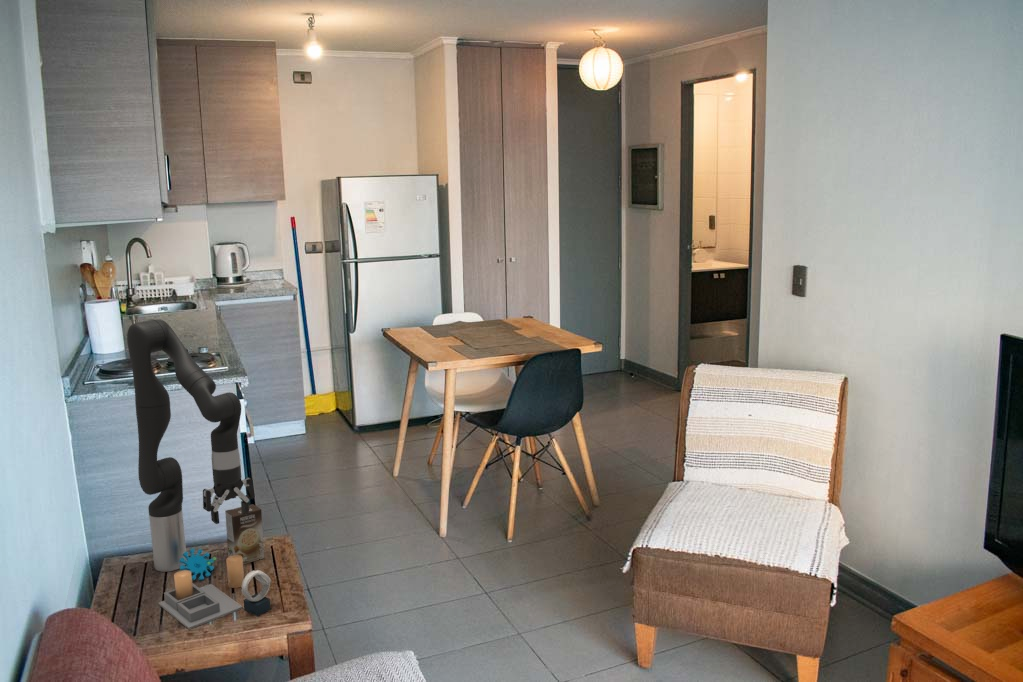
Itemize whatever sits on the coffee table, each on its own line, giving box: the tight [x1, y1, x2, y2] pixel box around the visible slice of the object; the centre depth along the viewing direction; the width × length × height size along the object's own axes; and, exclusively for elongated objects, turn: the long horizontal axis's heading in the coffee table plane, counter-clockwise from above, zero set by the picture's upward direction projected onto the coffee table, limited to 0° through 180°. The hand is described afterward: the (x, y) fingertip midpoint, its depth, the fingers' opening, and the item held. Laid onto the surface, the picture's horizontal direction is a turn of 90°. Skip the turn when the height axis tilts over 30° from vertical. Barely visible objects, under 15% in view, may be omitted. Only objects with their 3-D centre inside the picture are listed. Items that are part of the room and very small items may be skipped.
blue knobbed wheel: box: [179, 548, 217, 582], centre depth 247 cm, size 11×6×10 cm
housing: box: [158, 569, 244, 631], centre depth 228 cm, size 19×15×9 cm
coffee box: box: [225, 503, 265, 565], centre depth 255 cm, size 9×6×16 cm
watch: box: [240, 569, 272, 617], centre depth 225 cm, size 6×8×11 cm
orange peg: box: [225, 555, 245, 589], centre depth 240 cm, size 4×4×8 cm
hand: (230, 518), depth 237 cm, fingers open, 8 cm apart
